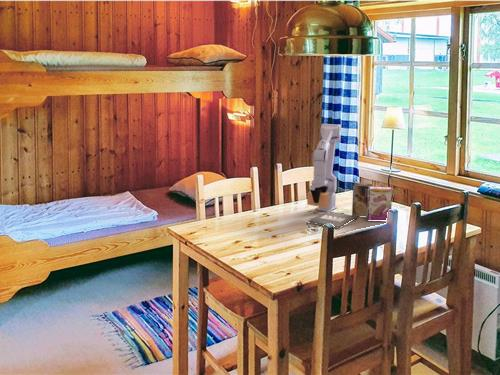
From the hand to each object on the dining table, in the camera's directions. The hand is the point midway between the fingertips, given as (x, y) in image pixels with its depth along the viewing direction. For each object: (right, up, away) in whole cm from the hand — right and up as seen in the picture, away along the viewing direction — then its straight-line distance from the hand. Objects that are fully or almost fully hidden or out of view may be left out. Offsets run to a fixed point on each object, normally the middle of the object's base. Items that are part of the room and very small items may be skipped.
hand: (318, 201), depth 275 cm
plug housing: (0, -2, +1) cm, 2 cm away
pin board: (+7, -9, -1) cm, 11 cm away
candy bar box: (+29, -9, 0) cm, 30 cm away
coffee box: (+22, -7, +7) cm, 25 cm away
